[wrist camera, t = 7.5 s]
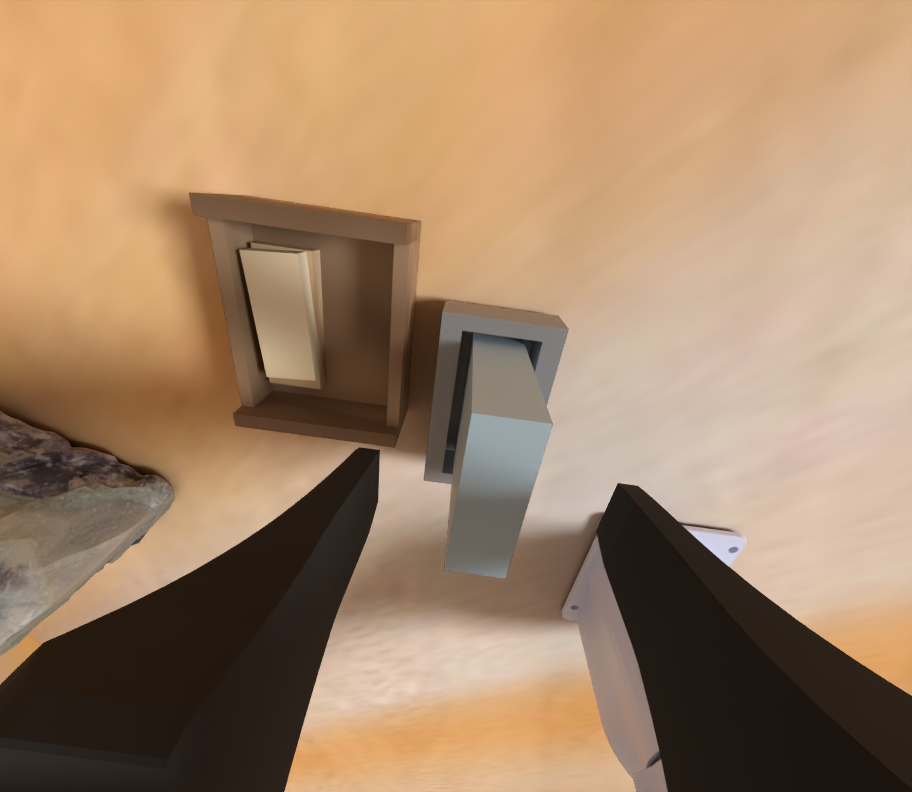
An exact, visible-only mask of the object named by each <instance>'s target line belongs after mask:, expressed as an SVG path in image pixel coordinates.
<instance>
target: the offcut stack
mask: <svg viewBox="0 0 912 792" xmlns="http://www.w3.org/2000/svg"><path fill="white" fill-rule="evenodd" d="M239 251H240V255H241V260H242V264H243V269H244V274H245V278H246V283H247V288H248V292H249V297H250V302H251V306H252V311H253V316H254V320H255V325H256V330H257V334H258V339H259V343H260V348H261V353H262V357H263V362H264V367H265V371H266V376H267V377H269V381H270V383H278V384H285V385H292V386H299V387H307V388H314V389H321V388H322V387H323V386H324V385H325V384H326V382H327V381H326V361H325V342H324V322H323V302H322V283H321V263H320V249H315V248H308V247H301V246H294V245H287V244H280V243H273V242H266V241H257V242H251V248H246V249H241V250H239Z"/></svg>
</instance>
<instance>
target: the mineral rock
mask: <svg viewBox="0 0 912 792" xmlns="http://www.w3.org/2000/svg"><path fill="white" fill-rule="evenodd" d="M174 497H175V496H174V488H173V486H172V485H171V484H170V483H168V482H167V481H166V480H165V479H163V478H161V477H160V476H157V475H141V474H139V473H138V472H137V471H136V470H135V469H133V468H131V467H130V466H127V465H124V464H120V463H119V462H118V460H117V459H116V458H115V457H114V456H112V455H109V454H106V453H102V452H99V451H96V450H92V449H89V448H84V447H71V445H70V443H69V441H68V440H66V439H65V438H63V437H61V436H60V435H58V434H57V433H55V432H50V431H44V430H40V429H37V428H33V427H31V426H30V425H28V424H26V423H24V422H22V421H21V420H18V419H15V418H12V417H9V416H7V415H6V414H4V413H3V412H1V411H0V655H2V654H4V653H5V652H7V651H8V650H10V649H12V648H13V647H14V646H16V645H17V644H18V643H19V642H20V641H21V640H22V639H23V638H24V637H25V636H26V635H27V634H28V633H29V632H30V631H31V630H32V629H33V628H34V627H35V626H36V625H37V624H39V623H40V622H41V621H42V620H44V619H45V618H46V617H47V616H49V615H50V614H51V613H53V612H54V611H55V610H56V609H57V608H59V607H60V606H62V605H63V604H64V603H66V602H67V601H68V600H69V598H70V597H71V596H72V595H73V594H74V593H75V592H76V591H77V590H79V589H80V588H81V587H82V586H83V585H84V584H85V583H86V582H87V581H88V580H89V579H90V578H91V577H92V576H93V575H94V574H96V573H97V572H99V571H100V570H102V569H103V568H104V565H105V564H107V563H113V562H114V561H115V560H117V559H118V558H119V557H121V556H122V554H123V553H124V552H125V551H126V550H127V549H128V548H129V547H130V546H131V545H134V544H137V543H139V542H140V541H141V539H142V538H143V537H144V535H145V534H146V533H147V532H148V530H149V529H150V528H151V527H152V526H153V525H154V523H155V522H156V521H157V520H158V519H159V518H160V517H161V516H162V515H163V514H164V513H165V512H166V511H167V510H168V509H169V507H170V506H171V504H172V503H173V501H174Z"/></svg>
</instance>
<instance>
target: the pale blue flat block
mask: <svg viewBox="0 0 912 792" xmlns="http://www.w3.org/2000/svg"><path fill="white" fill-rule="evenodd" d="M552 425H553V423H552V420H551V417H550V414H549V412H548V409H547V406H546V403H545V400H544V397H543V395H542V392H541V389H540V386H539V383H538V380H537V378H536V375H535V372H534V369H533V366H532V364H531V361H530V358H529V355H528V352H527V349H526V347H525V344H524V341H523V339H518V338H511V337H504V336H497V335H490V334H483V333H476V332H473V334H472V341H471V347H470V353H469V360H468V366H467V373H466V379H465V385H464V392H463V398H462V404H461V411H460V417H459V424H458V430H457V436H456V443H455V454H454V465H453V476H452V487H451V499H450V510H449V521H448V533H447V544H446V555H445V567H444V571H451V572H459V573H466V574H474V575H482V576H489V577H497V578H506V575H507V571H508V568H509V565H510V562H511V558H512V555H513V552H514V549H515V545H516V542H517V539H518V536H519V533H520V529H521V526H522V523H523V520H524V516H525V513H526V510H527V507H528V503H529V500H530V497H531V494H532V490H533V487H534V484H535V481H536V477H537V474H538V471H539V468H540V464H541V461H542V458H543V455H544V451H545V448H546V445H547V442H548V438H549V435H550V432H551V429H552Z"/></svg>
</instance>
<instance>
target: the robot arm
mask: <svg viewBox="0 0 912 792" xmlns="http://www.w3.org/2000/svg"><path fill="white" fill-rule="evenodd" d="M379 456H380V450H375V449H367V448H360V447H359V448H358V449H356V450H355V451H354V452H353V453H352V454H351V455H350V456H349V457H348V458H347V459H346V460H345V461H344V462H343V463H342V464H341V465H340V466H338V467H337V468H336V469H335V470H334V471H333V472H332V473H331V474H330V475H329V476H328V477H326V478H325V479H324V480H323V481H322V482H321V483H319V484H318V485H317V486H316V487H315V488H314V489H313V490H311V491H310V492H309V493H308V494H307V495H305V496H304V497H303V498H302V499H300V500H299V501H298V502H297V503H295V504H294V505H293V506H291V507H290V508H289V509H288V510H286V511H285V512H284V513H283V514H281V515H280V516H279V517H277V518H276V519H274V520H273V521H272V522H270V523H269V524H268V525H266V526H265V527H263V528H262V529H260V530H259V531H257V532H256V533H254V534H253V535H251V536H250V537H248V538H247V539H245V540H244V541H242V542H241V543H239V544H238V545H236V546H234V547H233V548H231V549H230V550H228V551H226V552H225V553H223V554H221V555H220V556H218V557H216V558H215V559H213V560H211V561H210V562H208V563H206V564H204V565H203V566H201V567H199V568H198V569H196V570H194V571H192V572H191V573H189V574H187V575H185V576H183V577H181V578H179V579H177V580H176V581H174V582H172V583H170V584H168V585H166V586H164V587H162V588H160V589H158V590H156V591H154V592H152V593H150V594H148V595H146V596H144V597H142V598H140V599H138V600H136V601H134V602H132V603H130V604H128V605H126V606H124V607H122V608H120V609H118V610H115V611H113V612H111V613H109V614H107V615H104V616H102V617H100V618H98V619H96V620H93V621H91V622H89V623H87V624H85V625H82V626H80V627H78V628H76V629H74V630H71V631H69V632H67V633H65V634H63V635H60V636H58V637H56V638H53V639H51V640H49V641H46V642H44V643H43V644H42V645H41V646H40V647H39V648H38V649H37V650H36V651H34V652H33V653H32V654H31V655H30V656H29V657H28V658H27V659H26V660H25V661H24V662H23V663H22V664H21V665H20V666H19V667H18V668H17V669H16V670H15V671H14V672H13V673H12V674H11V675H10V676H9V677H8V678H7V679H6V680H5V681H4V682H3V683H2V684H1V685H0V792H284V791H285V787H286V783H287V780H288V776H289V772H290V769H291V765H292V761H293V758H294V754H295V751H296V747H297V744H298V740H299V737H300V733H301V730H302V726H303V723H304V719H305V716H306V712H307V709H308V705H309V702H310V698H311V695H312V692H313V688H314V685H315V682H316V678H317V675H318V671H319V668H320V665H321V661H322V658H323V655H324V652H325V648H326V645H327V642H328V639H329V635H330V632H331V629H332V626H333V623H334V620H335V617H336V614H337V612H338V609H339V606H340V604H341V601H342V599H343V596H344V594H345V591H346V589H347V587H348V584H349V582H350V579H351V577H352V574H353V572H354V569H355V567H356V564H357V562H358V559H359V557H360V554H361V552H362V549H363V547H364V544H365V542H366V539H367V537H368V534H369V532H370V528H371V525H372V521H373V518H374V514H375V510H376V506H377V503H378V486H379ZM596 532H597V535H596V537H595V539H594V541H593V544H592V546H591V548H590V550H589V552H588V554H587V557H586V559H585V561H584V563H583V565H582V568H581V570H580V572H579V574H578V576H577V578H576V581H575V583H574V585H573V587H572V589H571V591H570V594H569V596H568V598H567V600H566V602H565V604H564V607H563V609H562V616H563V618H564V619H566V620H569V621H577V623H578V627H579V631H580V636H581V640H582V644H583V648H584V652H585V656H586V660H587V664H588V669H589V673H590V677H591V681H592V685H593V689H594V693H595V697H596V701H597V706H598V710H599V714H600V718H601V722H602V725H603V728H604V731H605V734H606V737H607V739H608V741H609V744H610V746H611V748H612V750H613V751H614V753H615V755H616V756H617V758H618V760H619V761H620V763H621V764H622V766H623V767H624V768H625V770H626V771H627V772H628V774H629V775H630V776H631V777H632V778H633V781H634V784H635V788H636V792H912V696H911V695H909V694H908V693H906V692H904V691H903V690H901V689H900V688H898V687H896V686H895V685H893V684H892V683H890V682H888V681H887V680H885V679H884V678H882V677H881V676H879V675H877V674H876V673H874V672H873V671H871V670H870V669H868V668H867V667H865V666H863V665H862V664H860V663H859V662H857V661H856V660H854V659H853V658H851V657H850V656H848V655H847V654H845V653H844V652H843V651H841V650H840V649H838V648H837V647H835V646H834V645H832V644H831V643H829V642H828V641H826V640H825V639H823V638H822V637H820V636H819V635H818V634H816V633H815V632H813V631H812V630H810V629H809V628H808V627H806V626H805V625H803V624H802V623H801V622H799V621H798V620H796V619H795V618H794V617H792V616H791V615H790V614H788V613H787V612H786V611H784V610H783V609H782V608H780V607H779V606H778V605H776V604H775V603H774V602H772V601H771V600H770V599H768V598H767V597H766V596H765V595H763V594H762V593H761V592H759V591H758V590H757V589H756V588H754V587H753V586H752V585H751V584H749V583H748V582H747V581H746V580H744V579H743V578H742V577H741V576H740V575H738V574H737V573H736V572H735V571H734V570H732V569H731V568H730V567H729V566H730V565H731V564H732V562H733V561H734V560H735V558H736V557H737V556H738V555H739V553H740V552H741V551H742V549H743V548H744V547H745V545H746V543H747V539H746V538H745V537H744V536H743V535H742V534H741V533H737V532H730V531H722V530H715V529H707V528H700V527H692V526H684V525H681V524H680V523H679V522H678V521H677V520H676V519H675V518H674V517H672V516H671V515H670V514H669V513H668V512H667V511H666V510H665V509H664V508H663V507H662V506H660V505H659V504H658V503H657V502H656V501H655V500H654V499H653V498H652V497H650V496H649V495H648V494H647V493H646V492H645V491H644V490H642V489H641V488H640V487H639V486H634V485H627V484H620V483H618V484H617V486H616V489H615V491H614V493H613V495H612V497H611V500H610V502H609V504H608V506H607V508H606V511H605V513H604V515H603V517H602V520H601V522H600V524H599V526H598V528H597V531H596Z"/></svg>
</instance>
